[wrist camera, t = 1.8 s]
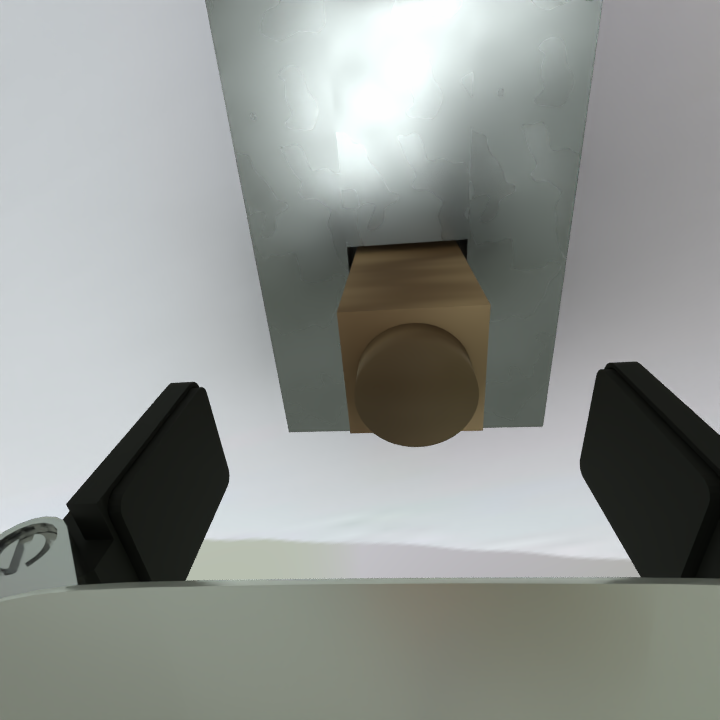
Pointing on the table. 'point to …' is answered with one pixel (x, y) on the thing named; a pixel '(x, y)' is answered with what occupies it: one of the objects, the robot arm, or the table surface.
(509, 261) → the block
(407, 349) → the walnut plug
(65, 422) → the table surface
